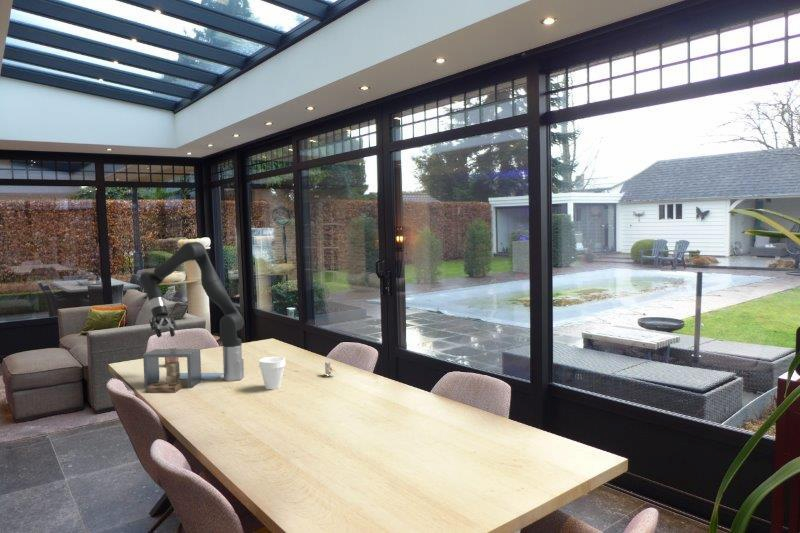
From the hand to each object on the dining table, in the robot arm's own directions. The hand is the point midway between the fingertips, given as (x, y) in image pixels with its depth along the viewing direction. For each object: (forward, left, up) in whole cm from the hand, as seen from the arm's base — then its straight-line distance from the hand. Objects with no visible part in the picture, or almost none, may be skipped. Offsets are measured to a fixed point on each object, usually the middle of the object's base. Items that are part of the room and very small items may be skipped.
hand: (166, 336), depth 290 cm
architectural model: (-83, -3, -22) cm, 86 cm away
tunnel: (-9, +14, -21) cm, 27 cm away
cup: (-60, +19, -22) cm, 67 cm away
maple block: (-9, +14, -21) cm, 27 cm away
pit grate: (-9, +24, -21) cm, 34 cm away
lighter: (+10, -25, -22) cm, 34 cm away
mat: (-14, -1, -21) cm, 26 cm away
